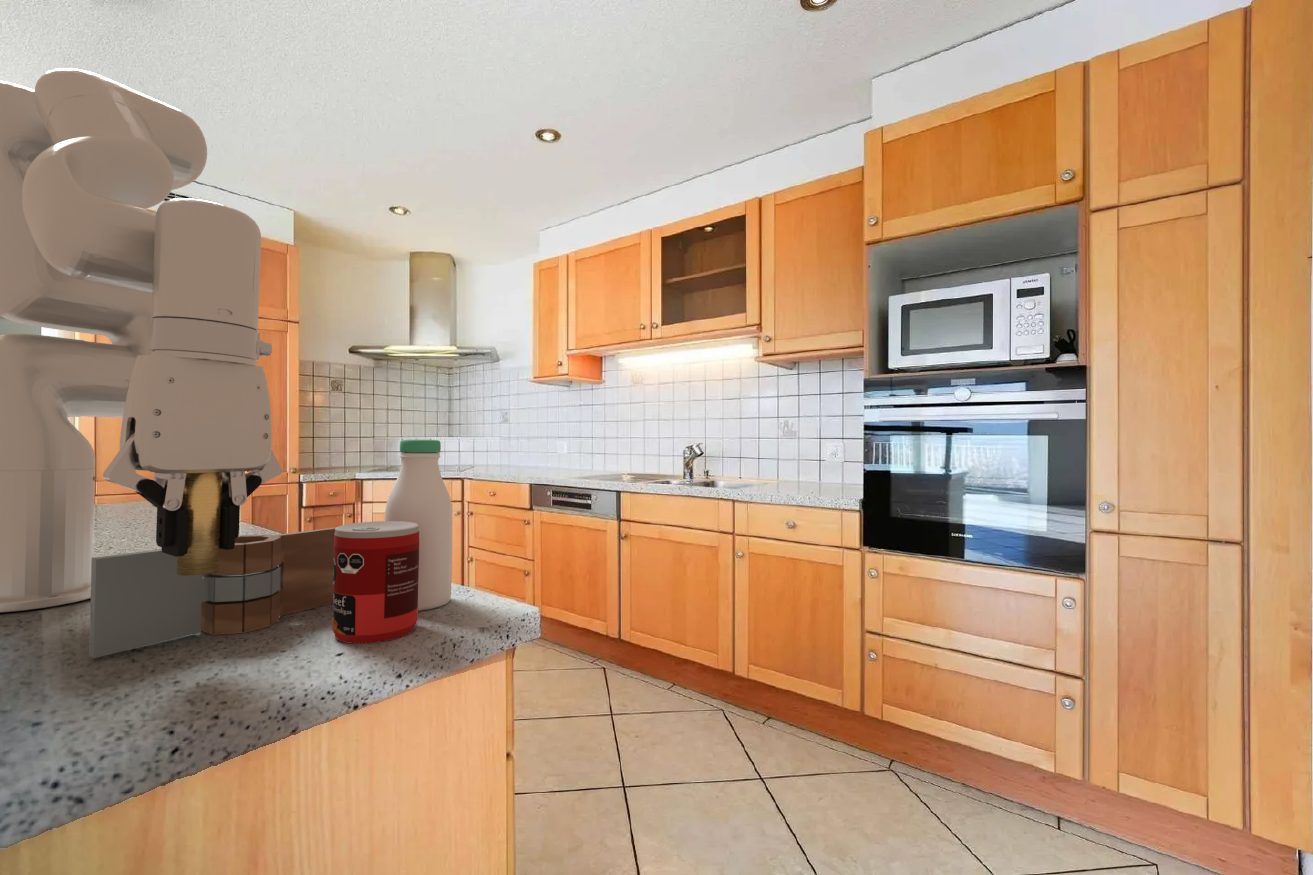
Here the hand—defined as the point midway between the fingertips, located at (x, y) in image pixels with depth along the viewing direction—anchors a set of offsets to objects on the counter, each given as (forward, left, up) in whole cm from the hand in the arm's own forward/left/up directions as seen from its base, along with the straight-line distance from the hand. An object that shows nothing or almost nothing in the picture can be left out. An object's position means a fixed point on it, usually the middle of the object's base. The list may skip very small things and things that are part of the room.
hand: (198, 548), depth 52 cm
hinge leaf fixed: (-7, +12, -10) cm, 17 cm away
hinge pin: (0, 0, -2) cm, 2 cm away
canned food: (+7, +13, -10) cm, 18 cm away
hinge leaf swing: (-7, +3, -10) cm, 12 cm away
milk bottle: (+2, +22, -10) cm, 24 cm away
